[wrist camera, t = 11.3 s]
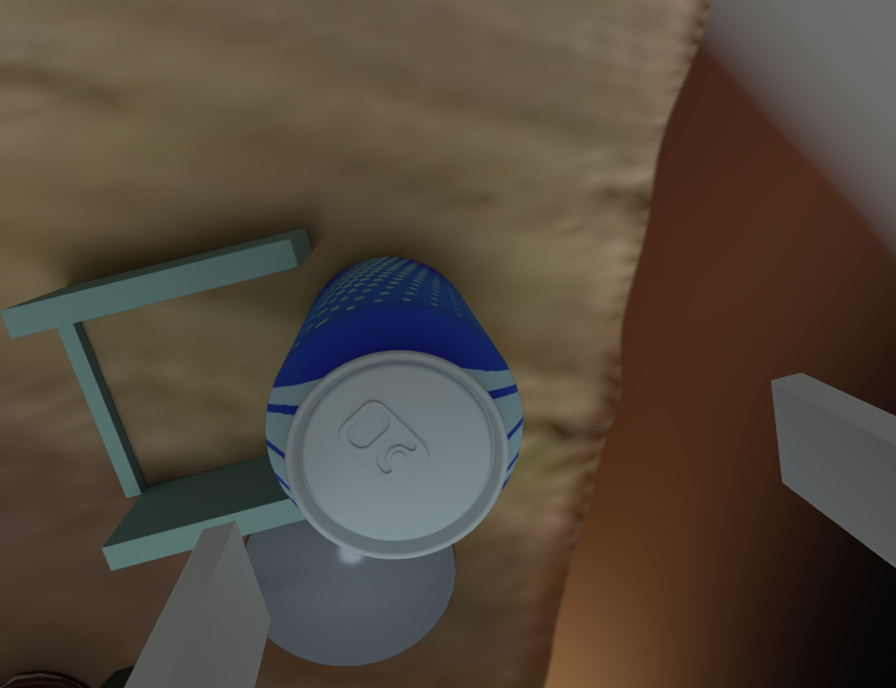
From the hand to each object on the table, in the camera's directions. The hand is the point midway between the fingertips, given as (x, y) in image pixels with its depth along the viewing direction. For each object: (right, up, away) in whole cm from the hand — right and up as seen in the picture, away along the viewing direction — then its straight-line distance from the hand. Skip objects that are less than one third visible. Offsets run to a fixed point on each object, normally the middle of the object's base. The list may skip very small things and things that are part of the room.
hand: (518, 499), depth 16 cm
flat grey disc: (-7, -9, +22) cm, 25 cm away
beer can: (-5, +4, +19) cm, 20 cm away
